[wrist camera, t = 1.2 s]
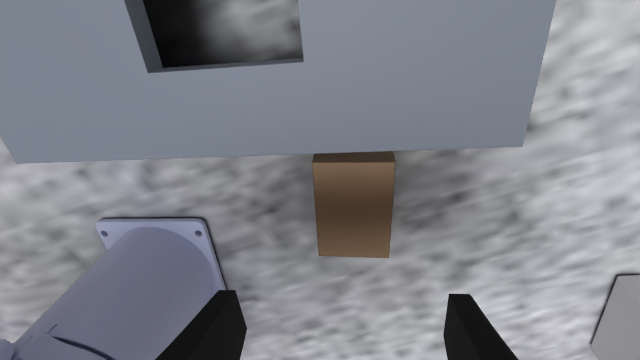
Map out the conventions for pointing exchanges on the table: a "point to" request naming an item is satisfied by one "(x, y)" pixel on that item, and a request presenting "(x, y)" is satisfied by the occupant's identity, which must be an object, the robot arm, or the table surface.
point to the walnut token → (354, 203)
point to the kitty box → (270, 82)
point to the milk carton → (620, 322)
